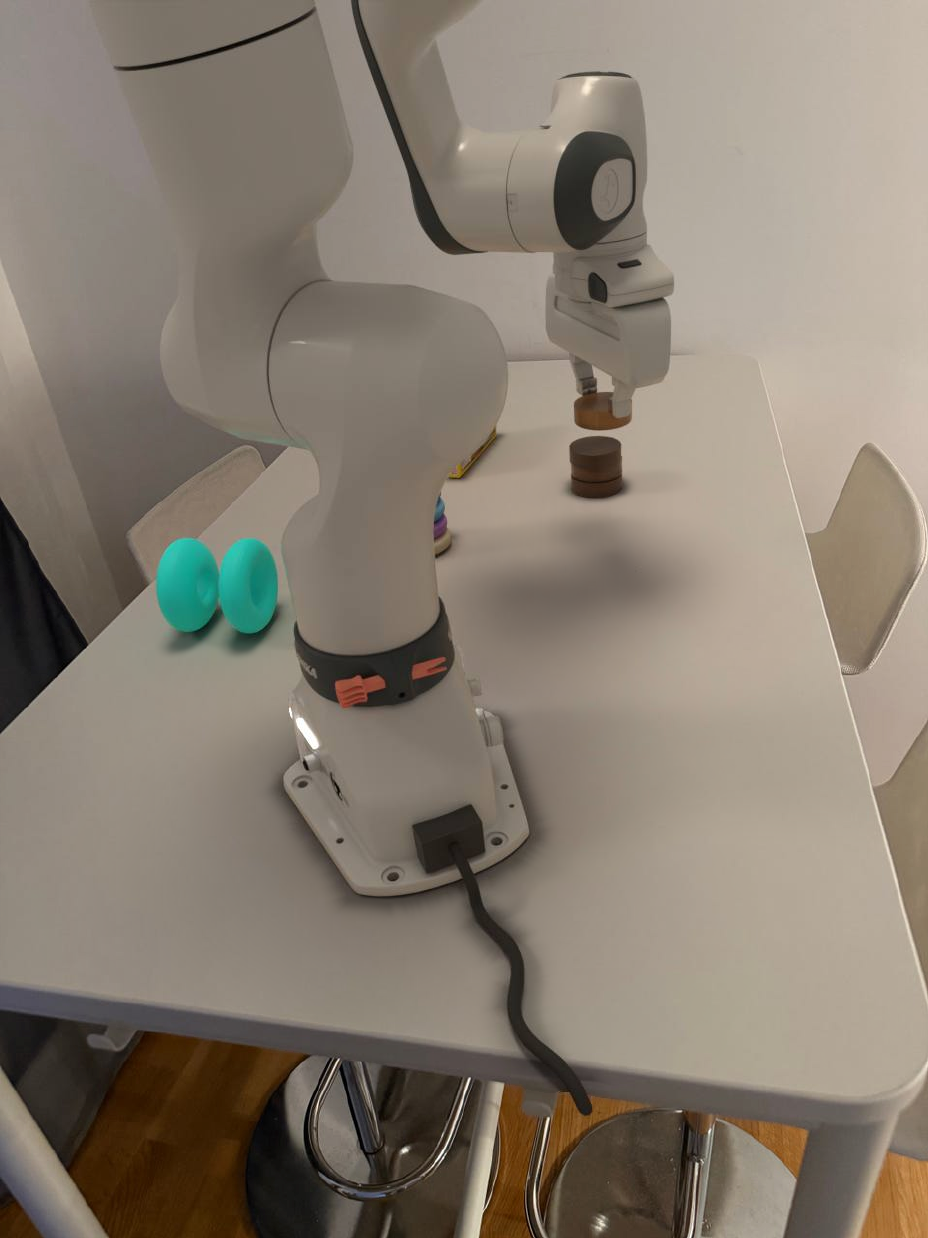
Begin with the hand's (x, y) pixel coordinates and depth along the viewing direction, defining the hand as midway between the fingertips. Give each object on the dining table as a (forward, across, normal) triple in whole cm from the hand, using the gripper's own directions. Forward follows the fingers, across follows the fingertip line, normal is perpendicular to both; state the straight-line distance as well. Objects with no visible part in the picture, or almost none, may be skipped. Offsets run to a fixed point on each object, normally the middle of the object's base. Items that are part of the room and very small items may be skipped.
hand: (602, 404), depth 95 cm
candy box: (+18, -36, -3) cm, 40 cm away
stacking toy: (+18, -13, -18) cm, 29 cm away
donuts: (+18, -6, -42) cm, 46 cm away
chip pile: (+18, -17, +7) cm, 26 cm away
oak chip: (+2, 0, 0) cm, 2 cm away
